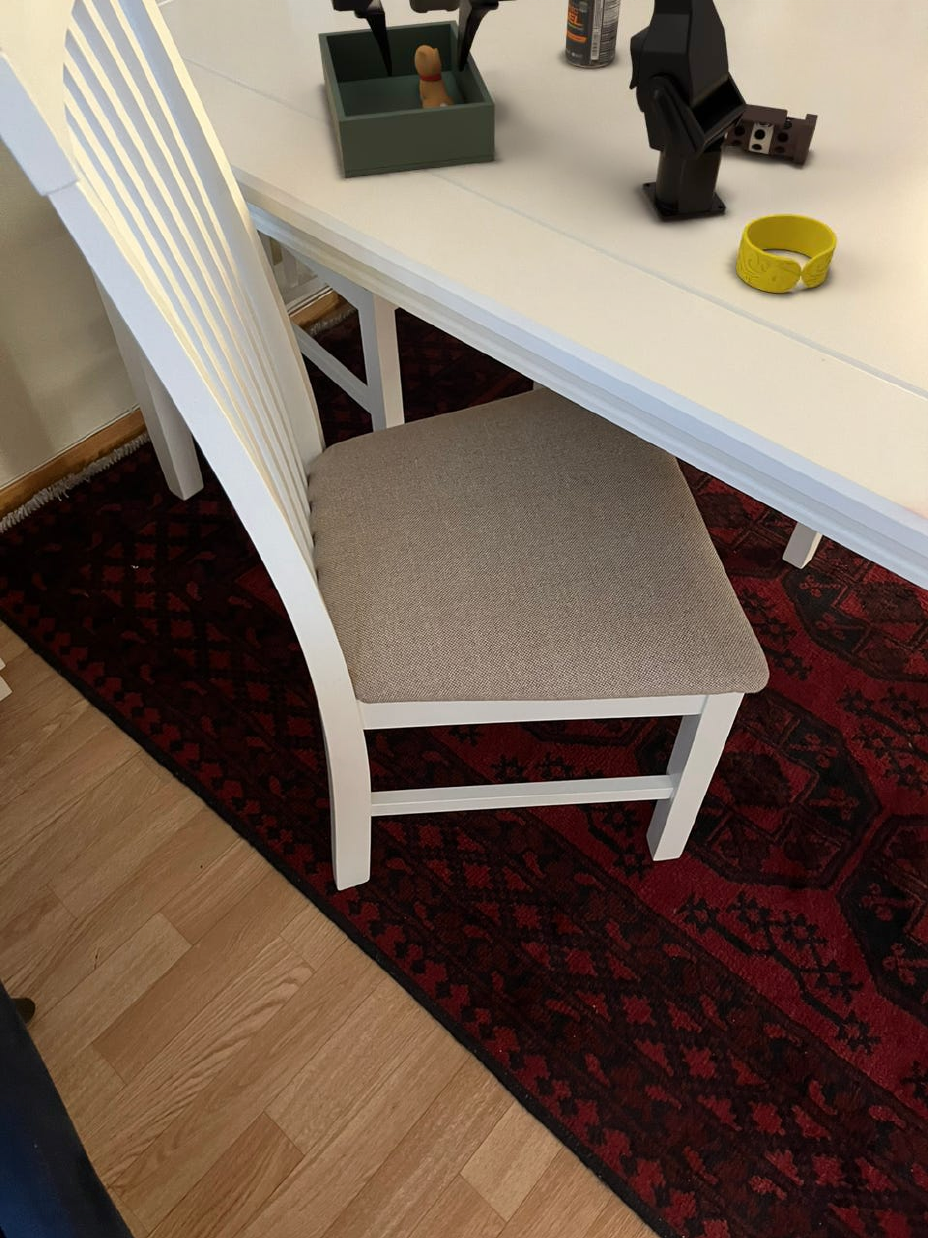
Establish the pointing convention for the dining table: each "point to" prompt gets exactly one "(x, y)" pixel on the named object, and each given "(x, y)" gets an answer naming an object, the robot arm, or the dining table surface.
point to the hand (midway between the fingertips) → (425, 72)
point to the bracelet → (787, 235)
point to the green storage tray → (404, 102)
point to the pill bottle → (591, 32)
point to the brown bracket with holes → (773, 132)
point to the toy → (431, 78)
